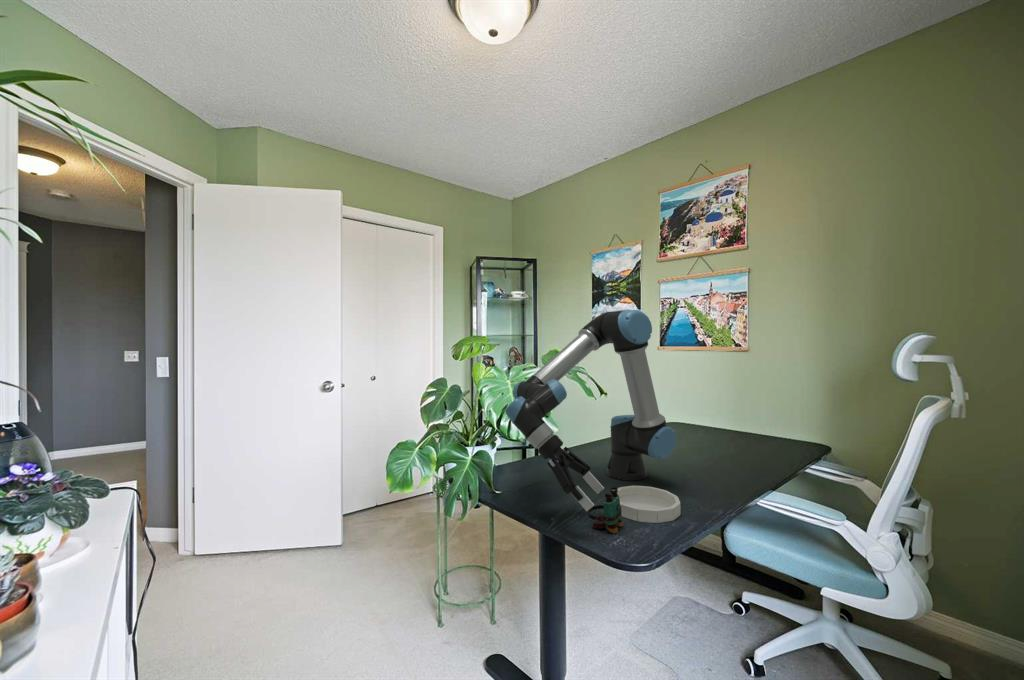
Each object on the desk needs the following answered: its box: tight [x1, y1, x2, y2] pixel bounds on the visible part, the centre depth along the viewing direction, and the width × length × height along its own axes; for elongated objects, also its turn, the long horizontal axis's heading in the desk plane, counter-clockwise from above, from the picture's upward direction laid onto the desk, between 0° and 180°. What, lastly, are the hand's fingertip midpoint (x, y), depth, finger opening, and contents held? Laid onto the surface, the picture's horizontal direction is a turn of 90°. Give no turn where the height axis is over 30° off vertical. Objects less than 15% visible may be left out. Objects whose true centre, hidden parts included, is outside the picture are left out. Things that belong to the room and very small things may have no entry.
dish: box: [617, 485, 682, 524], centre depth 131 cm, size 20×20×4 cm
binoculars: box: [587, 486, 623, 534], centre depth 119 cm, size 9×11×10 cm
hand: (596, 499), depth 120 cm, fingers open, 13 cm apart
